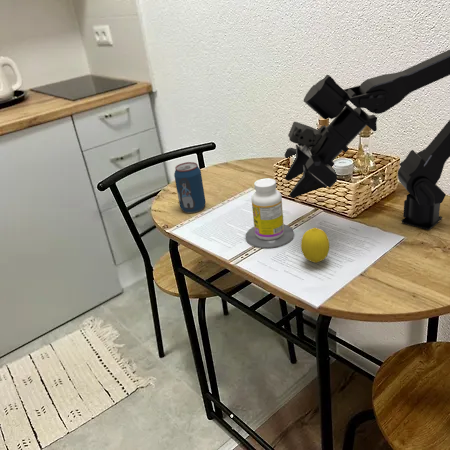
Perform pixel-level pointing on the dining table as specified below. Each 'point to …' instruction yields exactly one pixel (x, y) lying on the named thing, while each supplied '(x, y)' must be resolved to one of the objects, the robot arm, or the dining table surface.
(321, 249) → the lemon
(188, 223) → the dining table surface
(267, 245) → the coaster
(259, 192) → the supplement bottle
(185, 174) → the soda can
